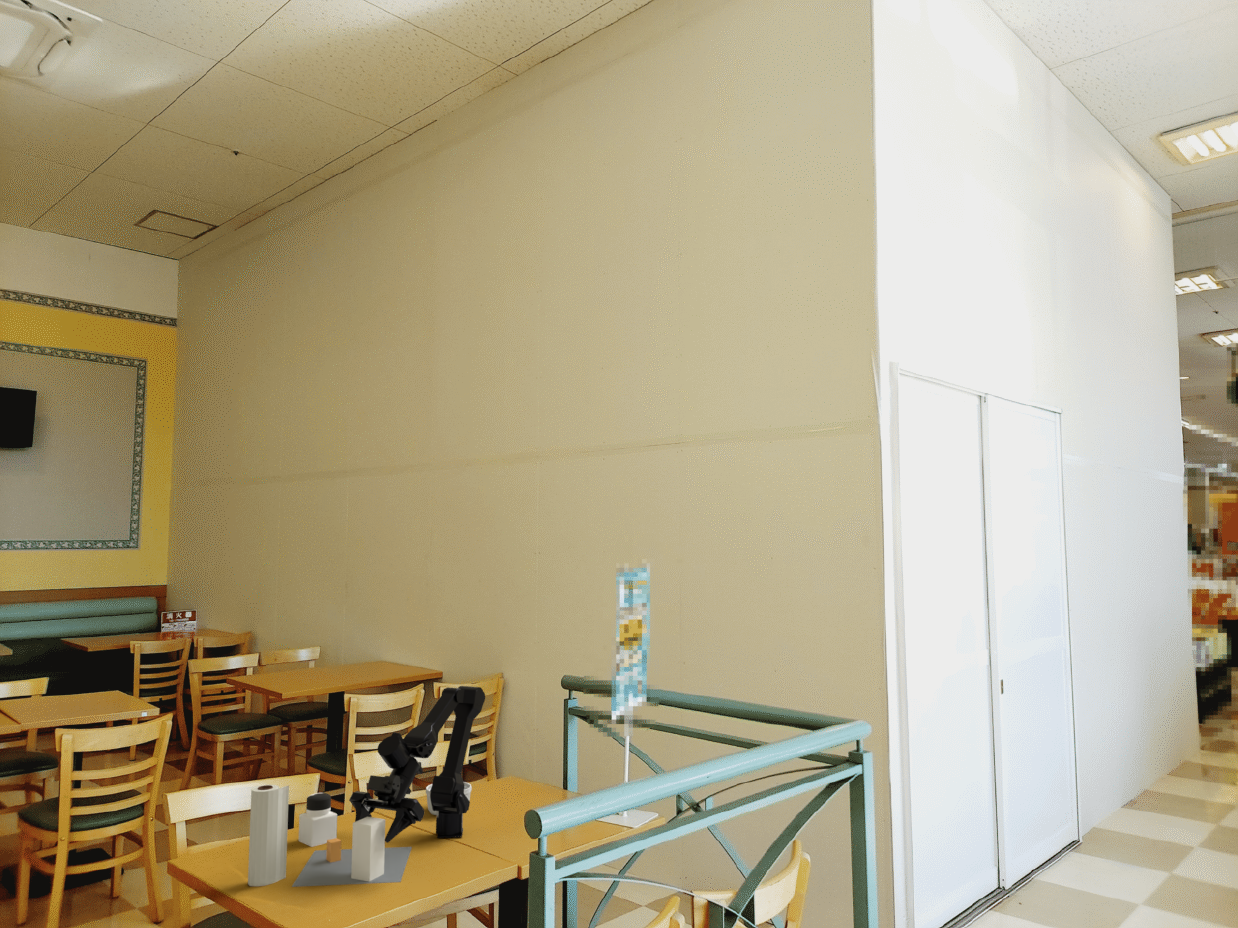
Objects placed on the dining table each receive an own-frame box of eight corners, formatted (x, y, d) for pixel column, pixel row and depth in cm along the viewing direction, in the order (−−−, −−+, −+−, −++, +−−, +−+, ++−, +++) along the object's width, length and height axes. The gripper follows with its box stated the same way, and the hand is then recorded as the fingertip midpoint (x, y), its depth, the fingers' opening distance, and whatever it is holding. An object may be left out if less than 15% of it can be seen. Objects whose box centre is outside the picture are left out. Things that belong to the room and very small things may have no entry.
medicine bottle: (337, 841, 232) (338, 794, 233) (311, 848, 227) (313, 799, 228) (323, 835, 237) (324, 789, 238) (297, 842, 232) (299, 794, 233)
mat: (411, 848, 227) (411, 846, 227) (400, 883, 203) (400, 881, 203) (314, 851, 224) (314, 850, 224) (291, 888, 200) (291, 886, 200)
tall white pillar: (366, 870, 210) (367, 816, 211) (383, 873, 208) (385, 819, 209) (351, 877, 205) (352, 822, 206) (369, 881, 203) (371, 825, 204)
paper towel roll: (242, 886, 201) (245, 789, 203) (257, 877, 207) (261, 782, 209) (271, 889, 200) (274, 791, 202) (285, 879, 206) (289, 784, 208)
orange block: (336, 857, 219) (337, 837, 219) (340, 859, 217) (341, 840, 217) (326, 859, 217) (326, 840, 218) (330, 862, 215) (331, 842, 216)
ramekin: (426, 805, 265) (426, 781, 265) (470, 803, 267) (471, 779, 268) (424, 818, 252) (425, 793, 252) (471, 816, 254) (472, 791, 255)
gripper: (355, 757, 218) (322, 815, 207) (418, 764, 211) (388, 825, 200) (375, 782, 224) (344, 840, 213) (437, 790, 217) (408, 851, 206)
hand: (370, 838), depth 208 cm, fingers open, 9 cm apart
